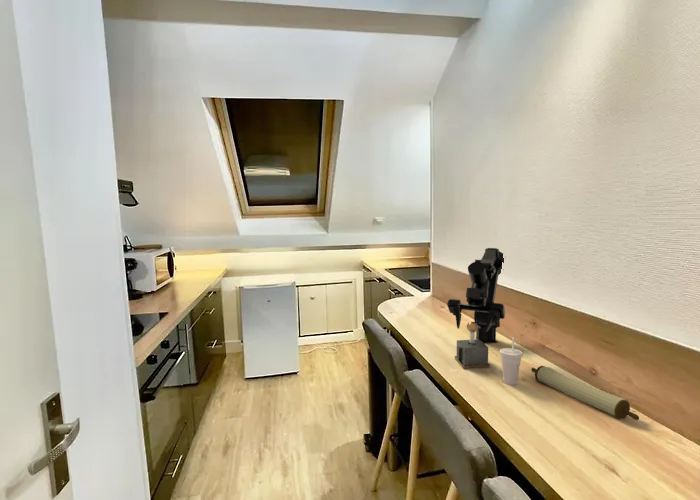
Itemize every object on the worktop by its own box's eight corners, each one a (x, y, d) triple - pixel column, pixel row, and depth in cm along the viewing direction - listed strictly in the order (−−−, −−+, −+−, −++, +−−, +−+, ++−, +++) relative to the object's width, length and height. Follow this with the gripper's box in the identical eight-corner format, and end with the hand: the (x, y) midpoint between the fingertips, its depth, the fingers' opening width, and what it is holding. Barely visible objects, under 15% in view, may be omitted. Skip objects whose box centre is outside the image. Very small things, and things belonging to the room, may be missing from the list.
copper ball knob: (477, 345, 140) (477, 319, 139) (483, 351, 135) (484, 323, 134) (460, 346, 140) (461, 319, 139) (466, 352, 134) (466, 324, 133)
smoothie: (523, 387, 119) (525, 341, 117) (500, 386, 120) (501, 340, 118) (519, 378, 125) (520, 334, 123) (497, 377, 126) (498, 333, 125)
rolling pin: (524, 378, 126) (525, 362, 125) (538, 375, 128) (538, 359, 127) (630, 429, 96) (631, 409, 96) (645, 424, 98) (646, 404, 98)
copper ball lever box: (479, 357, 143) (480, 338, 142) (490, 367, 134) (490, 347, 133) (453, 358, 142) (453, 339, 141) (462, 368, 133) (462, 348, 132)
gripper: (448, 276, 143) (439, 314, 135) (504, 280, 134) (498, 320, 126) (454, 294, 151) (445, 330, 143) (507, 298, 142) (501, 338, 133)
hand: (471, 329), depth 136 cm, fingers open, 9 cm apart
